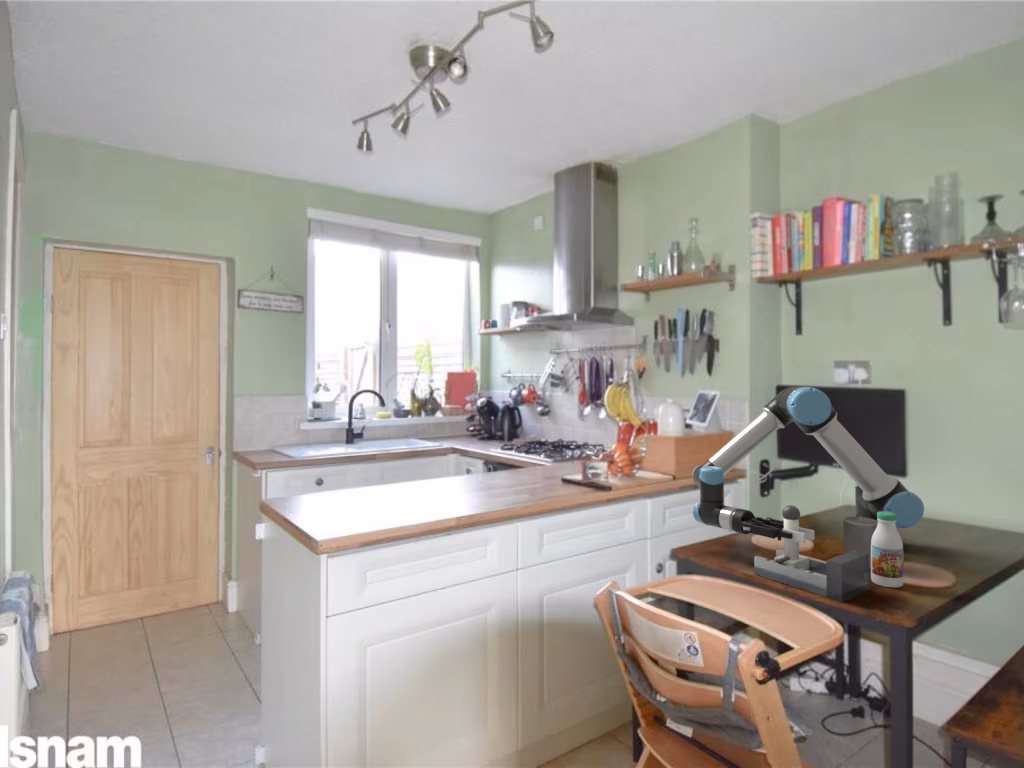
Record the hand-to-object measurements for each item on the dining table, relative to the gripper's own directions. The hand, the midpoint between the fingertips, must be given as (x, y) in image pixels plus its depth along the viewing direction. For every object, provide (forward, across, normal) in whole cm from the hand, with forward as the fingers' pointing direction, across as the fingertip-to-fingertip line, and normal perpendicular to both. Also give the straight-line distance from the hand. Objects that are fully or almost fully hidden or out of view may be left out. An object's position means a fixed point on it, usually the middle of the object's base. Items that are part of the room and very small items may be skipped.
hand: (809, 536), depth 165 cm
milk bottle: (+13, -16, -13) cm, 25 cm away
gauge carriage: (-5, +2, -11) cm, 12 cm away
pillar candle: (+1, -27, -13) cm, 30 cm away
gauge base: (0, 0, -13) cm, 13 cm away
